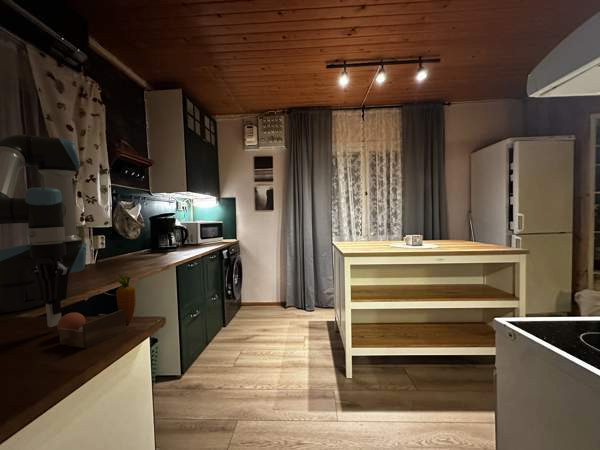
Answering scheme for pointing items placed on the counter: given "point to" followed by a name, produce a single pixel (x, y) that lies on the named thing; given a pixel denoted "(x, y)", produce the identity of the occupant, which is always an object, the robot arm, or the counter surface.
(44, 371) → the counter surface
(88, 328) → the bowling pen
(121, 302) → the carrot
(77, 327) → the ball
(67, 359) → the counter surface
